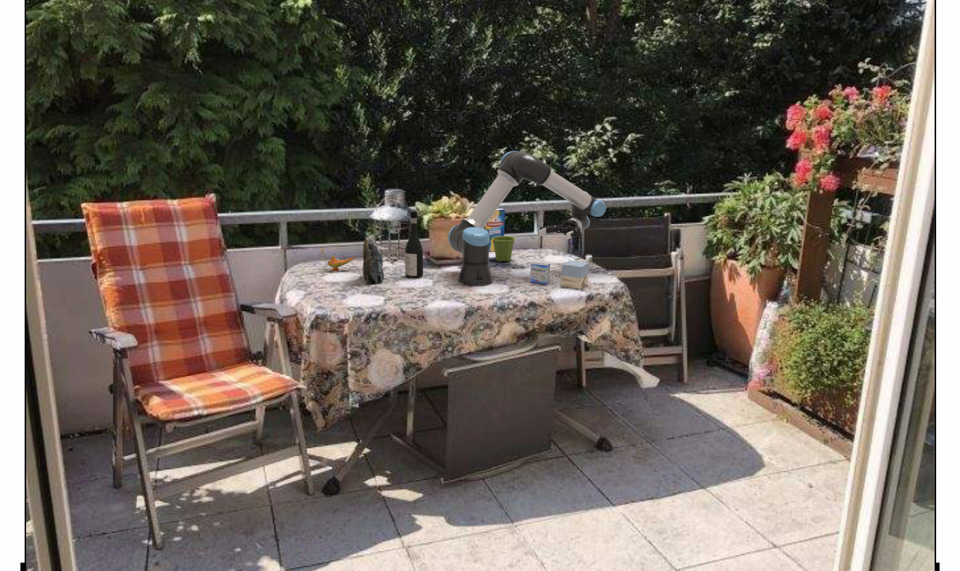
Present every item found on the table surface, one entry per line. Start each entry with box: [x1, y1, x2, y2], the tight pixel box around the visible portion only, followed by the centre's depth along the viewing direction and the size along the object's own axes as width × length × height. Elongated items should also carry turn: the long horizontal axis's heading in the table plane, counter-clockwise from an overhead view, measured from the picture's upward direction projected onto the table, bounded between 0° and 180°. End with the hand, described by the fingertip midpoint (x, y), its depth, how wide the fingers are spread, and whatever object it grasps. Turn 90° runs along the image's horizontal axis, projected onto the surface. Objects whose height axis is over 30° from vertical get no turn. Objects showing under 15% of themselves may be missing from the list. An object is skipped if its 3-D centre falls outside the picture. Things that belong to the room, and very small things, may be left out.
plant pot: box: [492, 235, 516, 262], centre depth 385 cm, size 12×12×11 cm
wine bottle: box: [404, 210, 424, 279], centre depth 349 cm, size 8×8×30 cm
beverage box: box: [483, 206, 506, 253], centre depth 407 cm, size 7×11×22 cm, turn 116°
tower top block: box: [561, 260, 590, 278], centre depth 340 cm, size 9×9×5 cm
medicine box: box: [529, 262, 551, 285], centre depth 345 cm, size 8×4×9 cm, turn 68°
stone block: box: [362, 234, 385, 285], centre depth 344 cm, size 18×9×20 cm, turn 3°
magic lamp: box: [318, 247, 359, 272], centre depth 360 cm, size 7×18×11 cm, turn 96°
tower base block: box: [560, 273, 589, 290], centre depth 342 cm, size 9×9×5 cm
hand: (553, 234), depth 350 cm, fingers open, 13 cm apart
